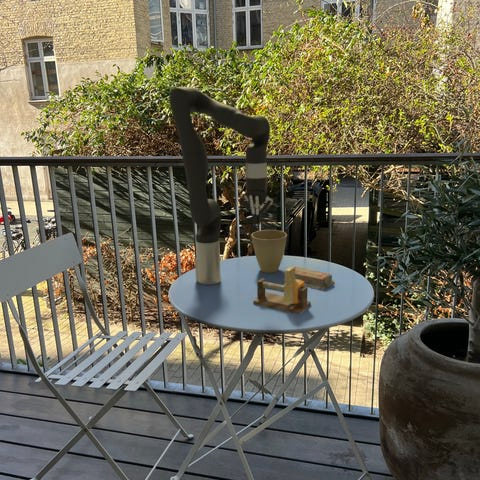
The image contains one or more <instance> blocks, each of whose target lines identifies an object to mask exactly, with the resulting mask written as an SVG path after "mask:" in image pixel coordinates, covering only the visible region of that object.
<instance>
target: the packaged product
mask: <svg viewBox="0 0 480 480" xmlns="http://www.w3.org/2000/svg"><path fill="white" fill-rule="evenodd" d="M294 267H295V279H298V280H301V281H304V287H307V288H312V289H315V290H320V291H324V290H325V289H327V288H328V287H330V286H331V285H334V283H335V280H334V279H332V278H333V275H332V273H331V274H330V273H326V272H322V271H318V270H314V269H309V268H305V267H300V266H294ZM283 281H284V282H285V278H283Z"/></svg>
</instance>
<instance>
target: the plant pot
mask: <svg viewBox="0 0 480 480" xmlns="http://www.w3.org/2000/svg"><path fill="white" fill-rule="evenodd" d="M287 237H288V234H287V233H286V232H285V231H283V230H276V229H263V230H257V231H255V232H252V233H251V241H252V246H253V251H254V254H255V255H254V256H255V258H256V261H257V264H258V266H259V269H260V271H261V272H262V273H266V274H267V273H268V274H272V273H273V274H274V273H276V272H278V271H279V269H280V266H281V263H282V260H283V256H284V253H285V249H286V243H287Z"/></svg>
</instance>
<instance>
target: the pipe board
mask: <svg viewBox="0 0 480 480" xmlns="http://www.w3.org/2000/svg"><path fill="white" fill-rule="evenodd" d="M256 283H257V284H256V285H257V287H256V289H257V291H256V292H257V293H256V294H257V297H256V298H255V299H253V304H254V305H258V306H262V307H265V308H269V309H275V310H279V311H282V312H287V313H291V314H296V315H301V314H302V313H303V312H305V310H307V309H308V308H309V307H310V306H311V304H312V303H311V301H308V287H307V286H304V287H303V288H302V289H298V296H300V301H299V302H298V303H297V304H296V303H293V304H292V303H288V302H284V295H280V294H276V293H271V292H267V291H266V290H270V291H274V292H279V293H284V284H278V283H272V282H269V281H266V278H263V277H262V278H260V279H259V280H257V282H256Z"/></svg>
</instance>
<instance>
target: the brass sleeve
mask: <svg viewBox="0 0 480 480" xmlns="http://www.w3.org/2000/svg"><path fill="white" fill-rule="evenodd" d="M295 267H296V266H293V265H292V266H290V267H288V268H287V269H285V270H284V279H285V281H284V284H283V285H284V292H283V296H284V302H288V303H292V304H293V296H294V286H295V285H296V284H298V283H299V282H300V281H301V280H298V279H295ZM299 289H300V288H299Z"/></svg>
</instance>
